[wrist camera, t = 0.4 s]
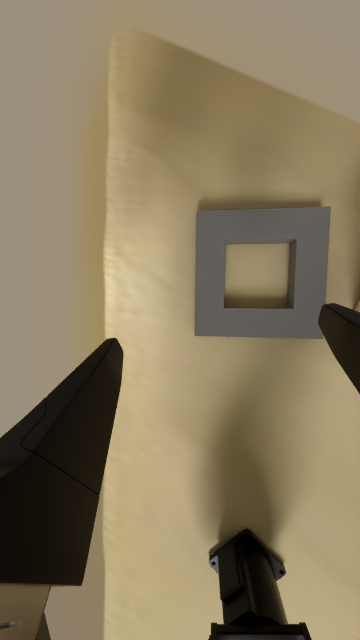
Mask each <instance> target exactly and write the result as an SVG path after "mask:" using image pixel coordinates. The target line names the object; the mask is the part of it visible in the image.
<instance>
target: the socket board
mask: <svg viewBox="0 0 360 640" xmlns="http://www.w3.org/2000/svg"><path fill="white" fill-rule="evenodd" d="M330 210H331V206H329V207H299V208H270V209H240V210H210V211H197V232H196V297H195V336H227V337H268V338H309V339H323V333H322V331H321V329H320V327H319V325H318V318H319V314H320V310H321V307H322V306H323V305H324V304H325V298H326V281H327V263H328V245H329V228H330ZM269 243H291V244H290V266H289V288H288V309H267V308H224V284H225V244H269Z"/></svg>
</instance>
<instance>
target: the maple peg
mask: <svg viewBox="0 0 360 640" xmlns="http://www.w3.org/2000/svg"><path fill="white" fill-rule="evenodd" d="M354 310H355V311H358V312H360V300H359V302H358V304H357V305H356V307H355V309H354Z"/></svg>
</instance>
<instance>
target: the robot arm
mask: <svg viewBox="0 0 360 640" xmlns="http://www.w3.org/2000/svg"><path fill="white" fill-rule="evenodd" d="M318 325H319V327H320V329H321V331H322V333H323V335H324V337H325V339H326V341H327V343H328V345H329V347H330V349H331V351H332V352H333V354H334V356H335V358H336V359H337V361H338V362H339V364H340V365H341V367H342V368H343V370H344V371H345V373H346V374H347V376H348V377H349V379H350V380H351V382H352V383H353V385H354V386H355V388H356V389H357V391H358V392H359V394H360V312H358V311H355V310H352V309H349V308H347V307H344V306H341V305H338V304H335V303H330V304H324V305H323V306H322V307H321V310H320V314H319V318H318ZM122 367H123V350H122V348H121V346H120V344H119V342H118V340H117V339H116V338H109V339H106V340H105V341H104V342H103V343H102V344H101V345H100V346H99V347H98V348H97V349H96V350H95V351H94V352H93V353H92V354H91V355H90V356H88V357H87V358H86V359H85V360H84V361H83V362H82V363H81V364H80V365H79V366H78V367H77V368H76V369H75V370H74V371H73V372H72V373H71V374H70V375H69V376H67V377H66V378H65V379H64V380H63V381H62V382H61V383H60V384H59V385H58V386H57V387H56V388H55V389H54V390H53V391H52V392H51V393H50V394H49V395H48V396H47V398H44V399H43V400H42V401H41V402H40V403H39V404H38V405H37V406H36V407H35V408H34V409H33V410H32V411H31V412H29V413H28V414H27V415H26V416H25V417H24V418H23V419H22V420H21V421H20V422H18V423H17V424H16V425H15V426H14V427H13V428H11V429H10V430H9V431H8V432H7V433H5V434H4V435H3V436H2V437H1V438H0V640H51V639H50V634H49V630H48V626H47V623H46V618H45V614H44V609H45V606H46V602H47V599H48V595H49V592H50V589H51V587H64V586H82V582H83V578H84V574H85V568H86V563H87V558H88V553H89V548H90V543H91V538H92V532H93V527H94V522H95V517H96V512H97V507H98V502H99V495H100V491H101V485H102V480H103V475H104V470H105V465H106V460H107V455H108V449H109V444H110V439H111V434H112V429H113V424H114V418H115V413H116V408H117V403H118V398H119V393H120V387H121V380H122ZM209 564H210V566H211V567H212V568H213V569H214V570H215V571H216V572H217V573H218V574H219V586H220V599H221V600H222V607H223V621H224V624H217V623H211V635H209V639H208V640H312V639H311V637H310V634H309V632H308V629H307V626H306V624H305V622H299V624H288V622H287V619H286V615H285V611H284V608H283V604H282V600H281V597H280V593H279V589H278V586H277V582H276V581H277V580H279V579H280V578H281V577H283V576H284V575H285V574H286V571H285V568H284V566H283V565H282V564H281V562H280V561H279V560H278V559H277V558H276V557H275V556H274V555H273V554H272V553H271V552H270V551H269V550H268V549H267V548H266V547H265V546H264V545H263V544H262V542H261V541H260V540H259V539H258V538H257V537H256V536H255V535H254V534H253V533H252V532H251V531H250V530H248V529H246V530H244V531H243V532H241V533H240V534H239V535H237V536H236V537H235V538H233V539H232V540H231V541H230V542H228V543H227V544H226V545H224V546H223V547H222V548H221V549H219V550H218V551H217V552H215V553H214V554H213V555H211V556H210V557H209Z"/></svg>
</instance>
